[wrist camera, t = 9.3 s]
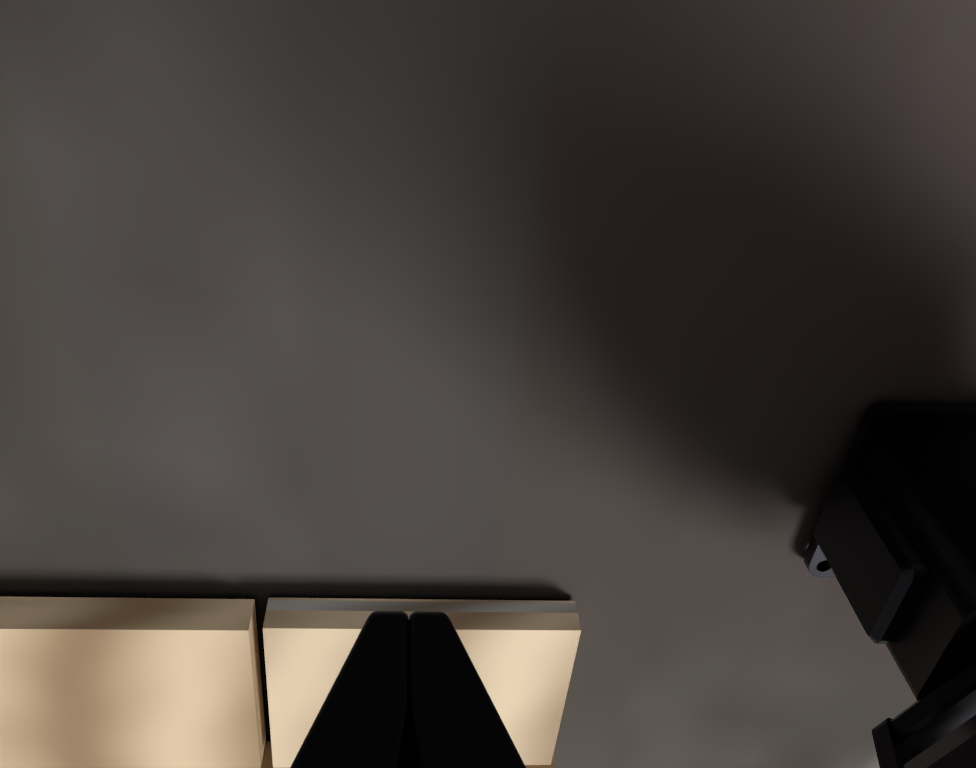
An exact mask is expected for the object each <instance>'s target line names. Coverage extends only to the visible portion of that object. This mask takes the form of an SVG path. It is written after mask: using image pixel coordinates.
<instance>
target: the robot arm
mask: <svg viewBox="0 0 976 768" xmlns="http://www.w3.org/2000/svg"><path fill="white" fill-rule="evenodd" d="M886 417H888V419H887V420H885V421H883V422H880V421H881V420H882V419H884V418H886ZM879 422H880V423H879ZM821 561H822V562H821ZM804 562H805V564H806V566H807V568H808V570H809V572H810V574H811V575H813V576H815V577H836V578H837V580H838V582H839V583H840V585H841V587H842V589H843V591H844V593H845V594H846V596H847V598H848V600H849V602H850V604H851V606H852V607H853V609H854V611H855V613H856V615H857V617H858V619H859V620H860V622H861V624H862V626H863V628H864V630H865V631H866V633H867V635H868V636H869V637H870V638H871V639H872V640H873V642H874V643H878V644H886V645H887V647H888V649H889V651H890V652H891V654H892V656H893V658H894V660H895V661H896V663H897V665H898V667H899V669H900V670H901V672H902V674H903V676H904V678H905V679H906V681H907V683H908V685H909V687H910V688H911V690H912V692H913V694H914V695H915V697H916V699H917V700H918V701H917V702H915V703H914V704H913V705H911V706H910V707H909V708H907V709H906V710H905V711H903V712H902V713H900V714H899V715H898V716H896V717H895V718H894V719H891V718H887V719H886V720H884V721H883V722H882V723H880V724H879V725H878V726H876V727H875V728H874V729H872V735H873V739H874V744H875V748H876V752H877V757H878V761H879V766H880V768H976V404H958V403H932V402H907V401H881V402H878V403H876V404H874V405H872V406H871V407H870V408H869V409H867V411H866V412H865V414H864V416H863V418H862V421H861V423H860V425H859V428H858V430H857V433H856V435H855V437H854V440H853V442H852V444H851V447H850V449H849V452H848V454H847V456H846V459H845V461H844V463H843V466H842V468H841V470H840V471H839V473H838V474H837V476H836V479H835V481H834V483H833V486H832V488H831V491H830V493H829V495H828V498H827V500H826V503H825V505H824V507H823V510H822V512H821V514H820V517H819V519H818V522H817V524H816V526H815V529H814V531H813V537H812V539H811V542H810V544H809V547H808V549H807V551H806V554H805V556H804ZM290 768H526V766H525V764H524V762H523V760H522V759H521V757H520V755H519V753H518V751H517V749H516V747H515V745H514V743H513V741H512V739H511V737H510V735H509V733H508V731H507V729H506V727H505V725H504V723H503V721H502V719H501V718H500V716H499V714H498V712H497V710H496V708H495V706H494V704H493V702H492V700H491V698H490V696H489V694H488V692H487V690H486V688H485V686H484V684H483V682H482V680H481V678H480V676H479V675H478V673H477V671H476V669H475V667H474V665H473V663H472V661H471V659H470V657H469V655H468V653H467V651H466V649H465V647H464V645H463V643H462V641H461V639H460V637H459V635H458V633H457V632H456V630H455V628H454V626H453V624H452V622H451V620H450V618H449V617H448V616H447V614H446V613H444V612H434V611H415V612H413V613H411V614H410V616H409V620H408V615H407V614H406V613H405V612H403V611H374V612H372V613H371V614H370V615H369V617H368V618H367V620H366V622H365V624H364V626H363V628H362V630H361V631H360V633H359V635H358V637H357V639H356V641H355V643H354V645H353V647H352V649H351V651H350V653H349V655H348V657H347V659H346V660H345V662H344V664H343V666H342V668H341V670H340V672H339V674H338V676H337V678H336V680H335V682H334V684H333V686H332V688H331V689H330V691H329V693H328V695H327V697H326V699H325V701H324V703H323V705H322V707H321V709H320V711H319V713H318V715H317V717H316V718H315V720H314V722H313V724H312V726H311V728H310V730H309V732H308V734H307V736H306V738H305V740H304V742H303V744H302V746H301V747H300V749H299V751H298V753H297V755H296V757H295V759H294V761H293V763H292V765H291V767H290Z"/></svg>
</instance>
